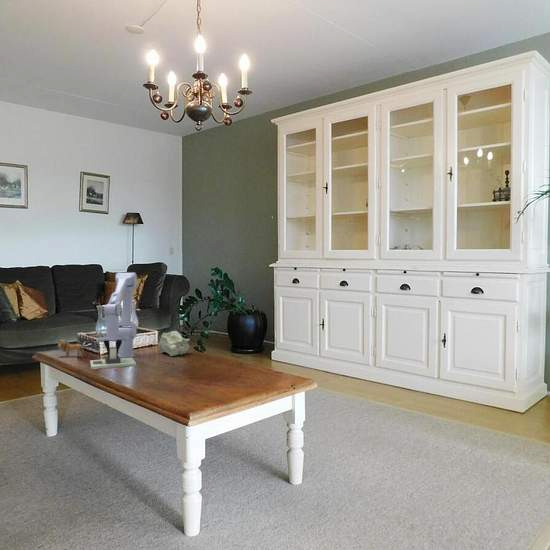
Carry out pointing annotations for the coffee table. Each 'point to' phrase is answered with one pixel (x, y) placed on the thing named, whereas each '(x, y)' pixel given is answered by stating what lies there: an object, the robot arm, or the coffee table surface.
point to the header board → (112, 362)
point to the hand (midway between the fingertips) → (112, 356)
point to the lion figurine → (70, 348)
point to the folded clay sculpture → (173, 343)
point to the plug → (112, 352)
